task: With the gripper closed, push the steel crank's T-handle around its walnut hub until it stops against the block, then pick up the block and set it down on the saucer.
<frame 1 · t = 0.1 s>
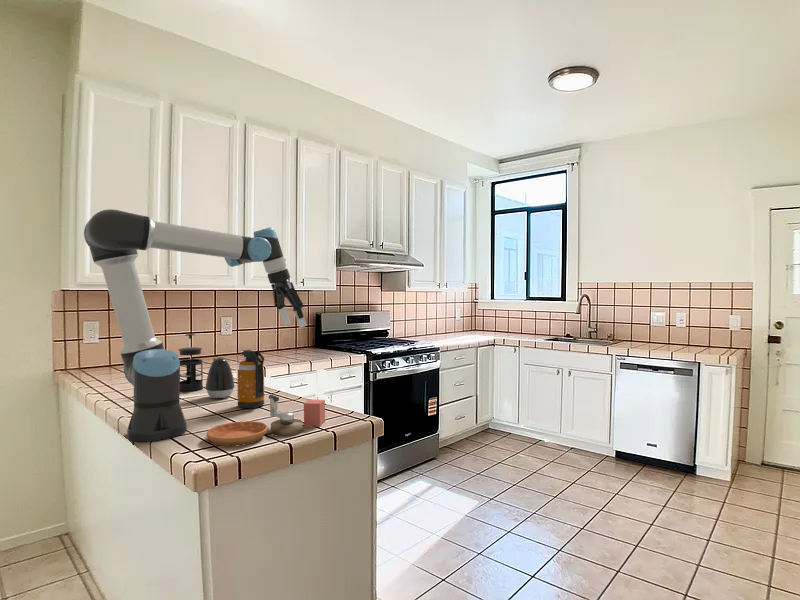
hand: (295, 325, 175), 28 cm above the countertop, tool tilted 20°, fingers open, 13 cm apart
canister: (252, 407, 166), on the countertop
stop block: (314, 424, 145), on the countertop
french press: (191, 390, 195), on the countertop
saucer: (237, 440, 131), on the countertop
hub plate: (286, 431, 137), on the countertop
black rounded egg shape: (220, 397, 181), on the countertop
crank: (280, 408, 140), point 6 cm above the countertop, hinge at 0.0°
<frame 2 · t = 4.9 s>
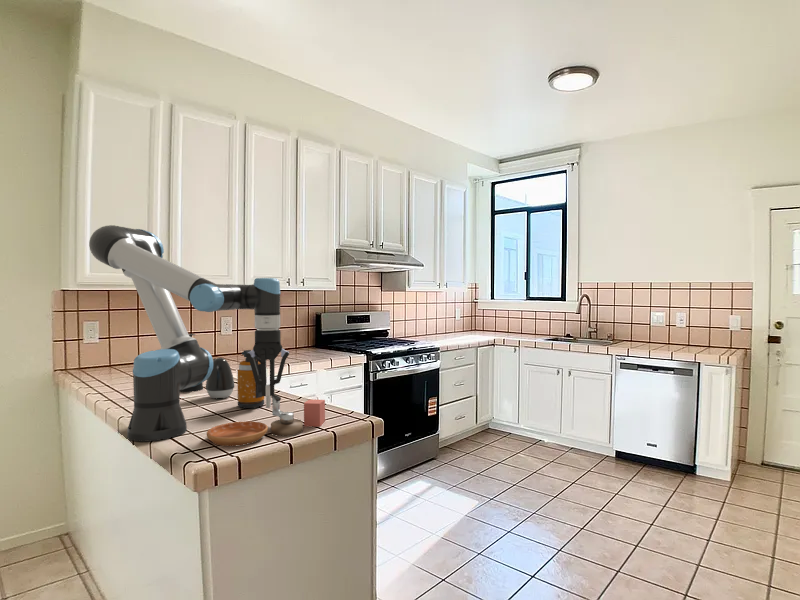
hand: (268, 406, 143), 6 cm above the countertop, tool pointing down, fingers closed
crank: (281, 408, 140), point 6 cm above the countertop, hinge at -5.2°, touching gripper
everything else where it was.
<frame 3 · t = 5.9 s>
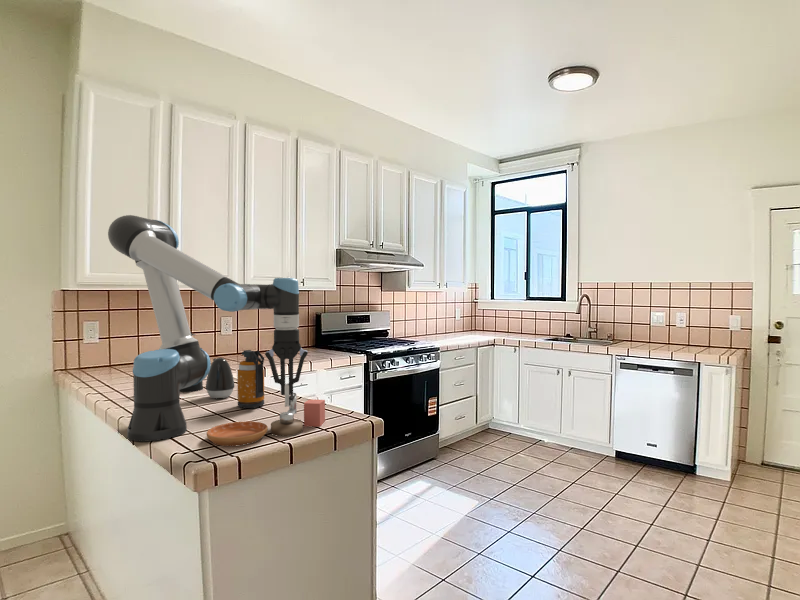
hand: (287, 405, 145), 6 cm above the countertop, tool pointing down, fingers closed
crank: (289, 407, 141), point 6 cm above the countertop, hinge at -41.3°, touching gripper
everything else where it was.
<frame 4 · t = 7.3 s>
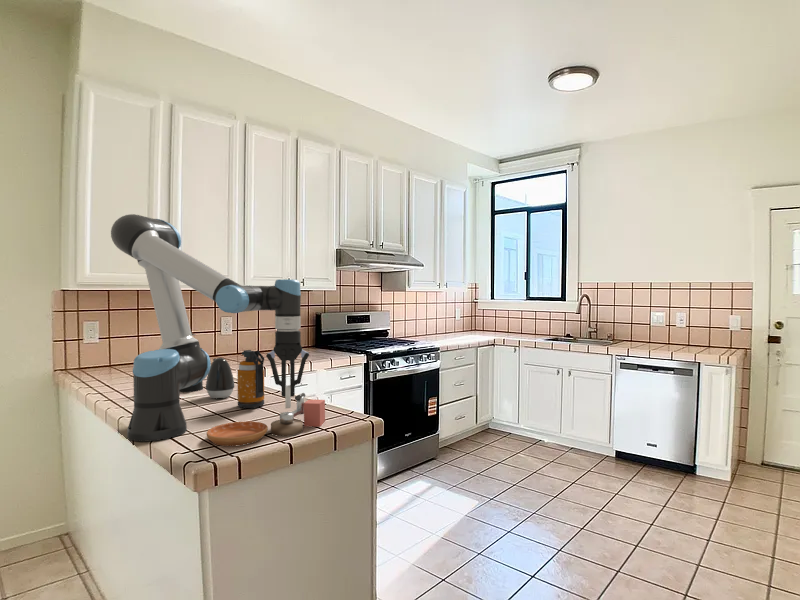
hand: (288, 407, 144), 5 cm above the countertop, tool pointing down, fingers closed
crank: (293, 407, 141), point 6 cm above the countertop, hinge at -58.4°
everything else where it was.
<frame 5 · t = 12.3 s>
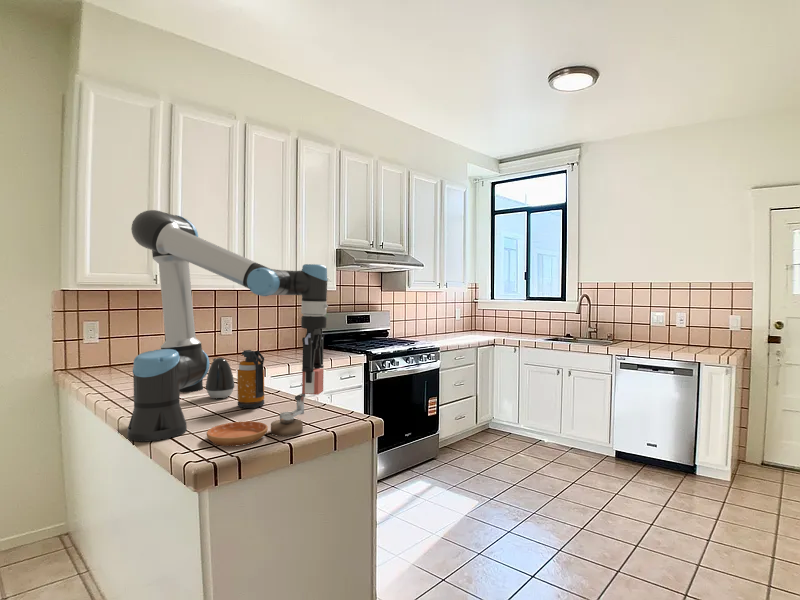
hand: (312, 391, 145), 10 cm above the countertop, tool pointing down, fingers closed on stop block, 5 cm apart
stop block: (312, 392, 145), point 10 cm above the countertop, touching gripper
everything else where it was.
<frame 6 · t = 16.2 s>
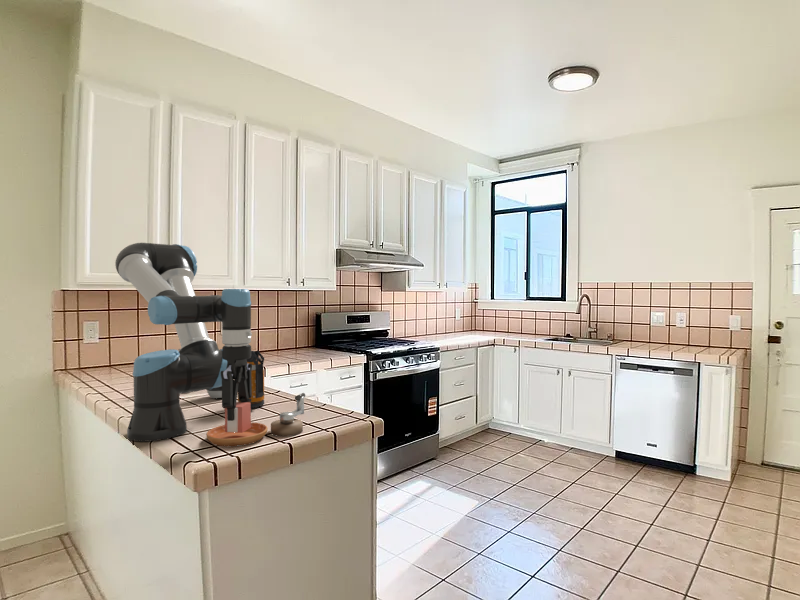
hand: (237, 428, 131), 3 cm above the countertop, tool pointing down, fingers closed on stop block, 5 cm apart
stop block: (238, 429, 131), point 2 cm above the countertop, touching gripper, saucer
saucer: (237, 441, 131), on the countertop, touching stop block
everything else where it was.
when the fingers open (3 cm above the countertop, at t = 16.4 s): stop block stays where it is, resting on saucer.
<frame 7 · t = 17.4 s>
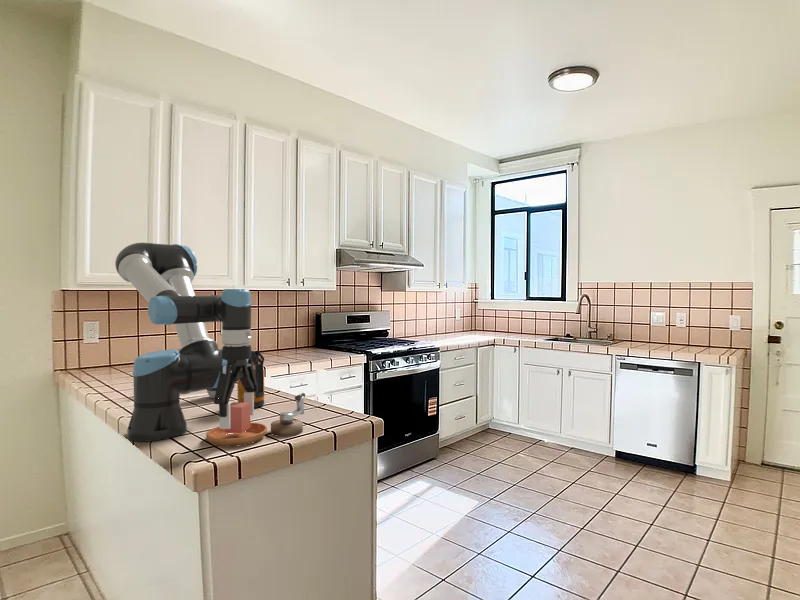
hand: (237, 421, 131), 5 cm above the countertop, tool pointing down, fingers open, 13 cm apart
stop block: (237, 429, 131), point 2 cm above the countertop, touching saucer
everything else where it was.
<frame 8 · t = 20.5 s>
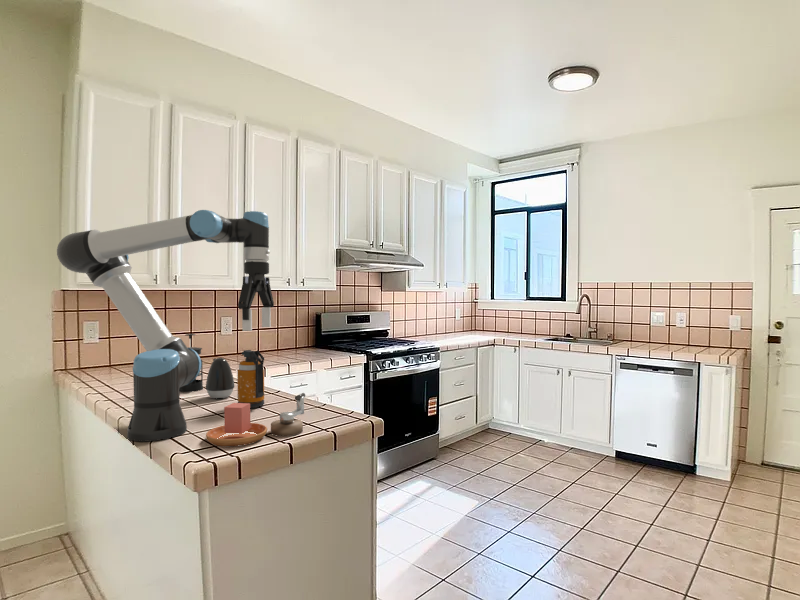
hand: (257, 329, 149), 29 cm above the countertop, tool pointing down, fingers open, 13 cm apart
nothing on the countertop moved.
at the end: crank at -58° (first picture: +0°); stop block 0.2 cm from the saucer (horizontally); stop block touching saucer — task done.
